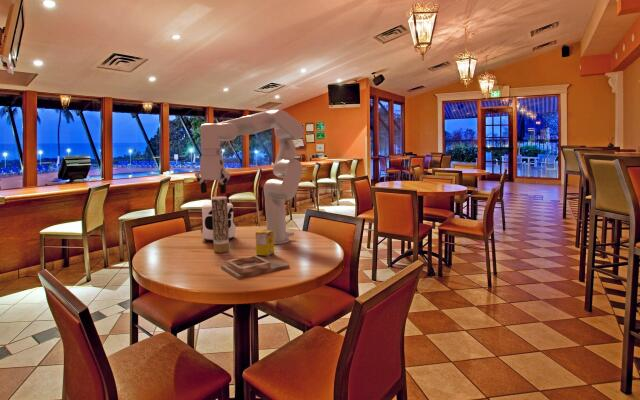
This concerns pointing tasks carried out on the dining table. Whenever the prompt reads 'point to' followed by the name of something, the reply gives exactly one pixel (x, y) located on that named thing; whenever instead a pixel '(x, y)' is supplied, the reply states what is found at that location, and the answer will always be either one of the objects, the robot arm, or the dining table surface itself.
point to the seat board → (253, 266)
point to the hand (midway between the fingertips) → (213, 193)
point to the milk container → (208, 222)
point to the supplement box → (264, 243)
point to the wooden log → (220, 224)
